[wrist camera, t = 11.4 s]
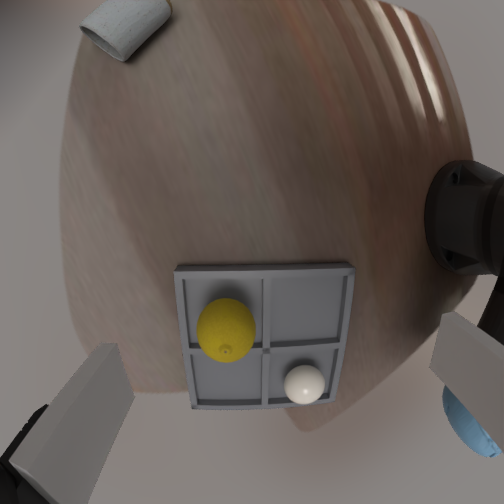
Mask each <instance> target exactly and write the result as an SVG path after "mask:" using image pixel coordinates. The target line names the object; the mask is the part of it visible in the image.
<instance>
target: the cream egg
mask: <svg viewBox="0 0 504 504" xmlns="http://www.w3.org/2000/svg"><path fill="white" fill-rule="evenodd" d="M324 389H325V379H324V376H323V374H322V373H321V372H320V371H319V370H318V369H317V368H315V367H313V366H310V365H300V366H297V367H295V368H293V369H292V370H291V371H290V372H289V373H288V374H287V376H286V377H285V380H284V391H285V394H286V395H287V397H288V398H289V399H290V400H291V401H293V402H295V403H297V404H310V403H313V402H315V401H316V400H317V399H319V398H320V396H321V395H322V393H323V392H324Z"/></svg>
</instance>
